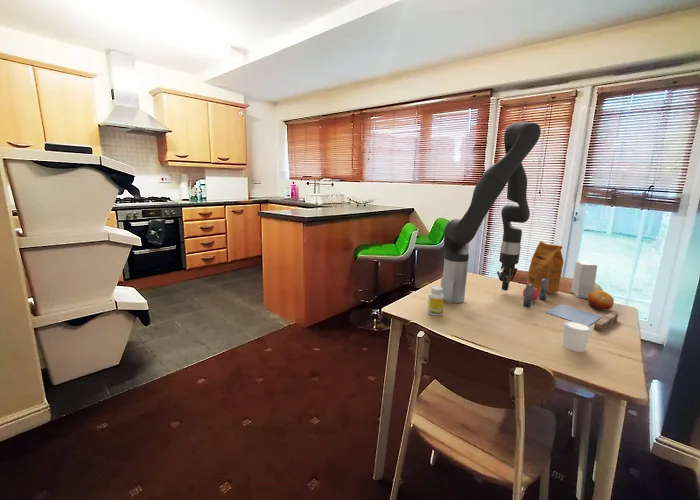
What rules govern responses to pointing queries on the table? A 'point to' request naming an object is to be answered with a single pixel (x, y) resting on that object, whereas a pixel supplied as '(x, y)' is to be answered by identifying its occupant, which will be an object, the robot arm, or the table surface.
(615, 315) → the wall
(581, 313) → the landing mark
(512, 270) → the robot arm
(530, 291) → the near post
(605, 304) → the fruit
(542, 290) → the far post
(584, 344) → the white cup
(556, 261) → the coffee package
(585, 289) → the skincare box
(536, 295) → the ball
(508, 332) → the table surface
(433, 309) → the supplement bottle
